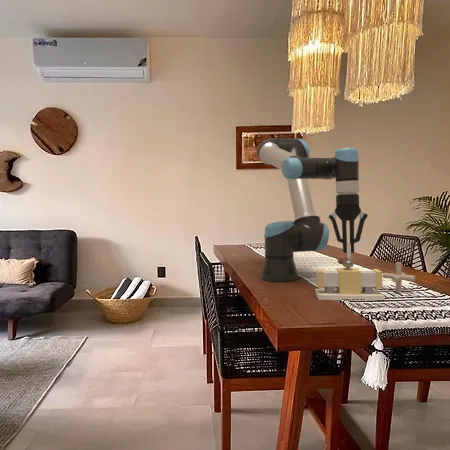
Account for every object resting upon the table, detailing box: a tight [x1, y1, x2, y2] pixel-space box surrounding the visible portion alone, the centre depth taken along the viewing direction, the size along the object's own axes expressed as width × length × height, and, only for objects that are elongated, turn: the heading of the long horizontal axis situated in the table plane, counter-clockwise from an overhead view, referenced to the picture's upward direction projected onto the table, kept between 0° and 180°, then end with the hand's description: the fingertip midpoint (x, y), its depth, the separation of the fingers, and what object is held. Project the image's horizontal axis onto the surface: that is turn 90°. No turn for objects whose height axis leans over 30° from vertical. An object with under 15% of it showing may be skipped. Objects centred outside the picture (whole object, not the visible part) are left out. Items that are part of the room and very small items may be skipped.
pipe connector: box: [382, 261, 416, 293], centre depth 128 cm, size 10×10×10 cm
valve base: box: [315, 267, 385, 301], centre depth 123 cm, size 9×20×10 cm, turn 82°
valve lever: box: [337, 255, 354, 268], centre depth 126 cm, size 12×3×2 cm, turn 175°
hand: (348, 262), depth 130 cm, fingers closed
